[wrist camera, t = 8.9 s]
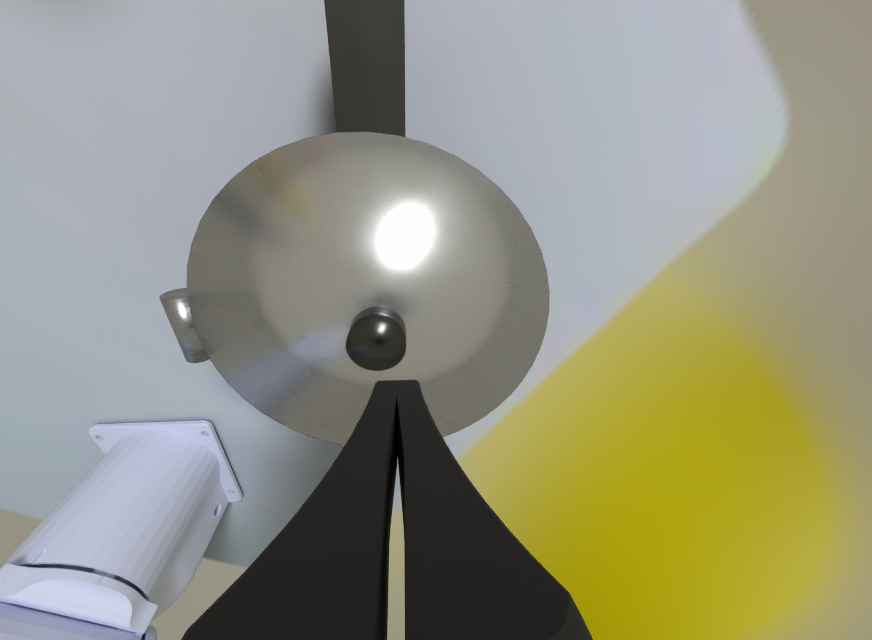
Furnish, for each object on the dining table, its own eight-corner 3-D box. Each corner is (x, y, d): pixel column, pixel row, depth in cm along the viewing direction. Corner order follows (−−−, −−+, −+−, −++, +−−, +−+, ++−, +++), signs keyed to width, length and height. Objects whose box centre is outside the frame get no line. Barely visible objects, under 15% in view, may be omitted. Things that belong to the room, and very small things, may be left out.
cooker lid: (512, 428, 19) (524, 461, 17) (231, 436, 18) (208, 473, 16) (577, 141, 12) (611, 142, 10) (105, 120, 10) (33, 115, 8)
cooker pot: (486, 367, 23) (504, 420, 19) (287, 372, 22) (258, 429, 18) (540, -2, 14) (603, -68, 9) (189, -34, 12) (72, -129, 8)
